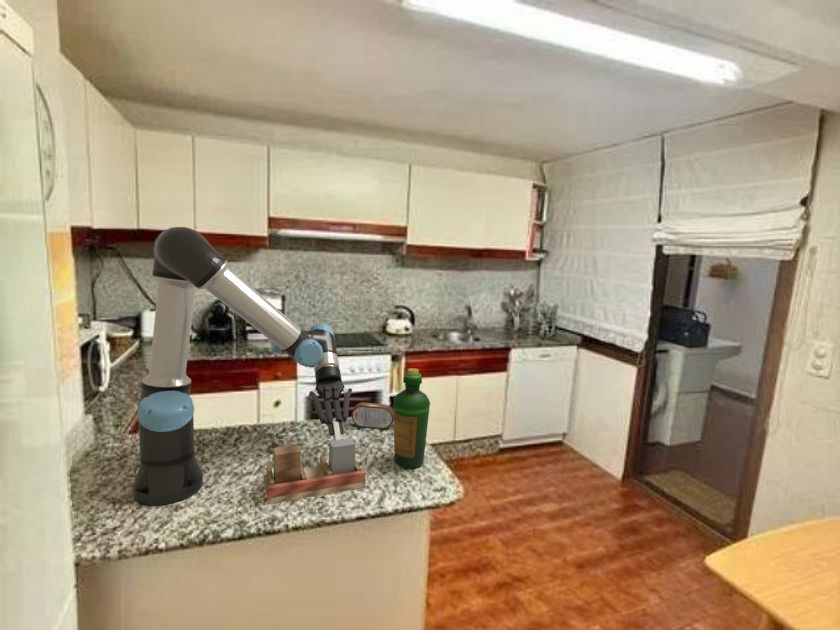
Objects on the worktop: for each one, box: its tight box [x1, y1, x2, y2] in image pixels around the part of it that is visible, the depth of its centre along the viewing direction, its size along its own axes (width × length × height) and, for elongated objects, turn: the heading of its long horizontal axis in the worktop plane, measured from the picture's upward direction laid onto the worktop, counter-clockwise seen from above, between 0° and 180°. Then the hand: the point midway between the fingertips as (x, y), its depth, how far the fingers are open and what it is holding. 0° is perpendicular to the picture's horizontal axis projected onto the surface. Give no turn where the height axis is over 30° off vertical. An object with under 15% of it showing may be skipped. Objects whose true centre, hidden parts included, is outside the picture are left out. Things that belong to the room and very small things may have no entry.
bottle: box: [393, 367, 431, 469], centre depth 130 cm, size 11×11×28 cm
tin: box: [351, 401, 394, 430], centre depth 156 cm, size 15×3×8 cm, turn 84°
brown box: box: [273, 444, 302, 484], centre depth 113 cm, size 6×5×9 cm
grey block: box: [328, 437, 356, 475], centre depth 119 cm, size 6×5×9 cm
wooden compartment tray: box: [263, 454, 366, 505], centre depth 117 cm, size 24×12×4 cm, turn 114°
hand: (338, 445), depth 124 cm, fingers closed
